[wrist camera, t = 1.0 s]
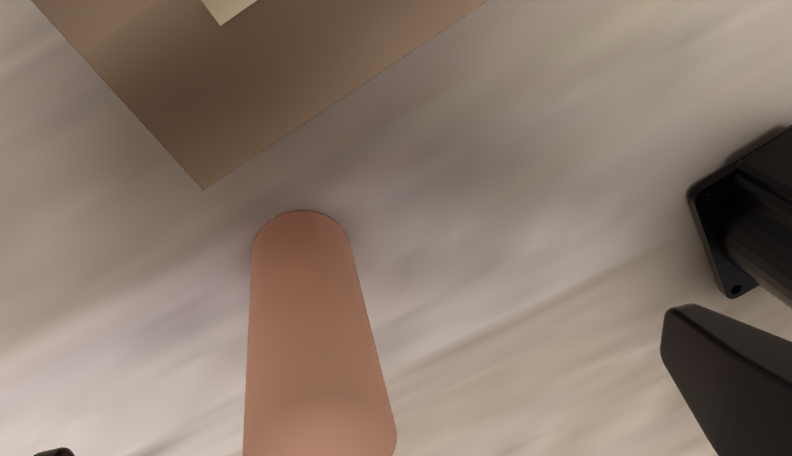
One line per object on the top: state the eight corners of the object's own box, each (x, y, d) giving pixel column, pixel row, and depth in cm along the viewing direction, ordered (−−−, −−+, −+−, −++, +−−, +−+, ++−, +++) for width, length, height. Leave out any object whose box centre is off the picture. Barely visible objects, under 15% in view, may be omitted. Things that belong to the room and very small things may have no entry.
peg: (368, 262, 22) (423, 450, 14) (290, 310, 23) (303, 519, 15) (314, 192, 20) (343, 363, 13) (230, 246, 21) (209, 445, 13)
